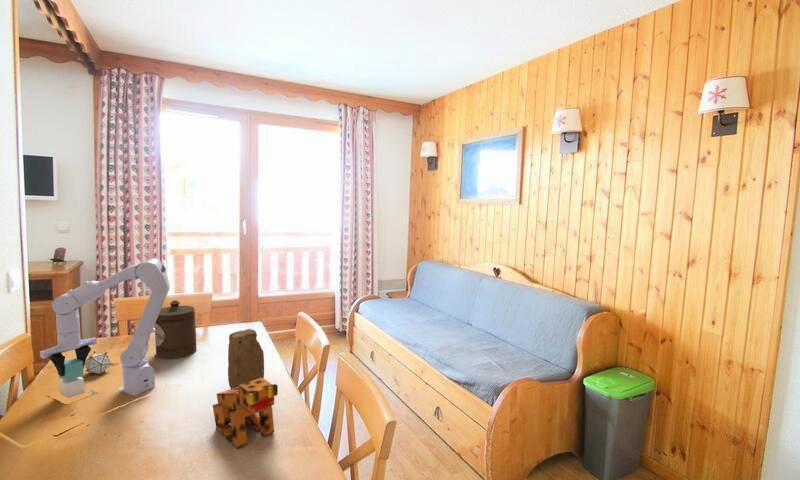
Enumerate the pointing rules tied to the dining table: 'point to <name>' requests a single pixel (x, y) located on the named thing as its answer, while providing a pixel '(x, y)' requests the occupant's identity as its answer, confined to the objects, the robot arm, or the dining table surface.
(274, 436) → the dining table surface
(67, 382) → the cream brick
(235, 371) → the block
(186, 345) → the wooden container
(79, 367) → the teal brick
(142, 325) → the robot arm
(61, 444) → the dining table surface
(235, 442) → the toy animal
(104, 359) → the game die
